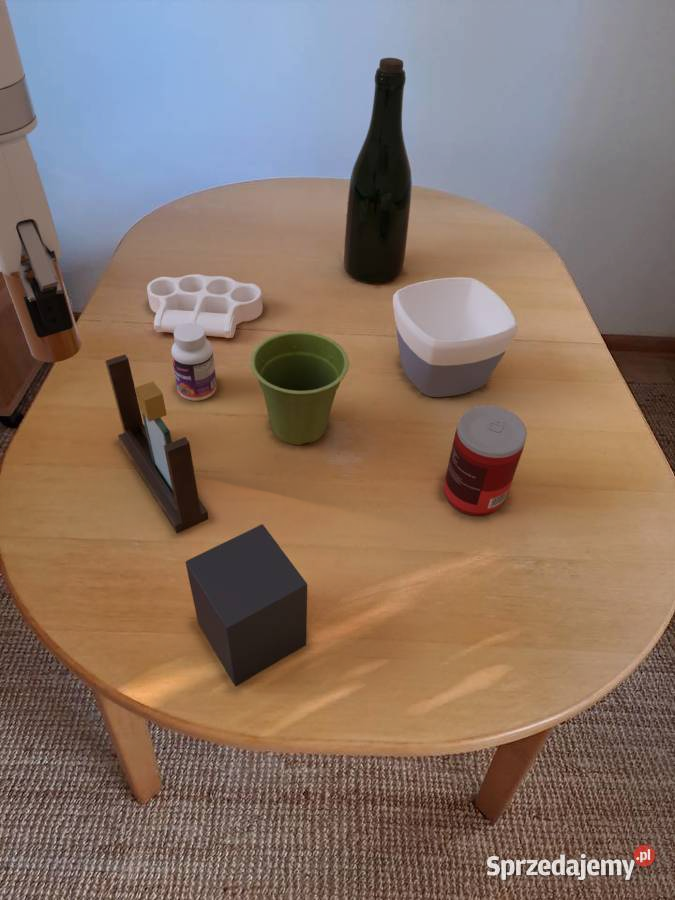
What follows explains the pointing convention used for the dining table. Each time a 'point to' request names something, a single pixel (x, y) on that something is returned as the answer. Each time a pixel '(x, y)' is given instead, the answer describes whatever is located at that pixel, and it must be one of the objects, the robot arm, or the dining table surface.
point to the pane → (155, 426)
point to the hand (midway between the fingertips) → (45, 314)
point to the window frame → (184, 500)
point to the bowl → (451, 334)
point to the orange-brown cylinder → (41, 348)
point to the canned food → (483, 459)
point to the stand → (249, 602)
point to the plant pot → (299, 382)
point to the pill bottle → (193, 362)
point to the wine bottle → (380, 186)
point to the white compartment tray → (203, 303)
